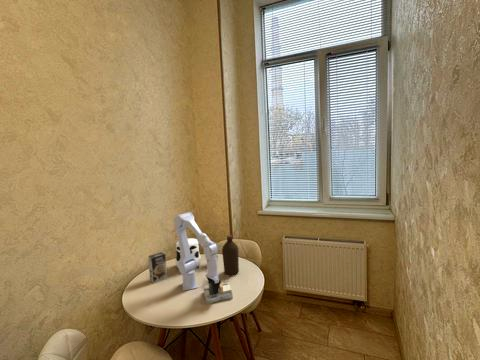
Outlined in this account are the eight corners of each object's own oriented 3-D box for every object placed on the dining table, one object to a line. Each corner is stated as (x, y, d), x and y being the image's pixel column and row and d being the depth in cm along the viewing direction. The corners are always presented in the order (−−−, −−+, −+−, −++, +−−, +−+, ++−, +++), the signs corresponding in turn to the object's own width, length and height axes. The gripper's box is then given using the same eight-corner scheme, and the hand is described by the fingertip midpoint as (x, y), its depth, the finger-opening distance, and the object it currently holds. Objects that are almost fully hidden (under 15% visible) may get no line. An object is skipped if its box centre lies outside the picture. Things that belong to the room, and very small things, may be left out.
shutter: (218, 287, 142) (218, 282, 142) (229, 285, 144) (228, 280, 144) (221, 292, 137) (220, 287, 136) (231, 290, 138) (231, 285, 138)
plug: (209, 295, 140) (208, 281, 139) (215, 293, 141) (214, 280, 140) (211, 298, 136) (210, 284, 136) (217, 296, 138) (216, 282, 137)
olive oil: (236, 277, 159) (233, 238, 157) (220, 275, 163) (218, 237, 161) (242, 270, 169) (239, 233, 167) (227, 268, 173) (225, 232, 171)
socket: (203, 292, 143) (203, 287, 143) (227, 287, 147) (227, 282, 147) (206, 303, 132) (206, 298, 132) (232, 298, 136) (232, 293, 135)
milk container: (196, 259, 191) (194, 236, 190) (205, 267, 176) (203, 242, 175) (173, 265, 182) (171, 241, 181) (180, 274, 168) (178, 248, 166)
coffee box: (153, 283, 157) (151, 258, 156) (149, 280, 162) (147, 255, 160) (167, 278, 163) (165, 254, 162) (163, 275, 168) (161, 251, 166)
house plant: (229, 264, 179) (227, 241, 178) (214, 271, 169) (212, 247, 168) (216, 259, 189) (214, 238, 188) (201, 265, 180) (199, 243, 178)
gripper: (201, 262, 143) (203, 286, 144) (208, 273, 129) (210, 298, 130) (213, 260, 145) (215, 283, 146) (221, 270, 132) (223, 295, 133)
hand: (213, 290), depth 139 cm, fingers open, 7 cm apart
